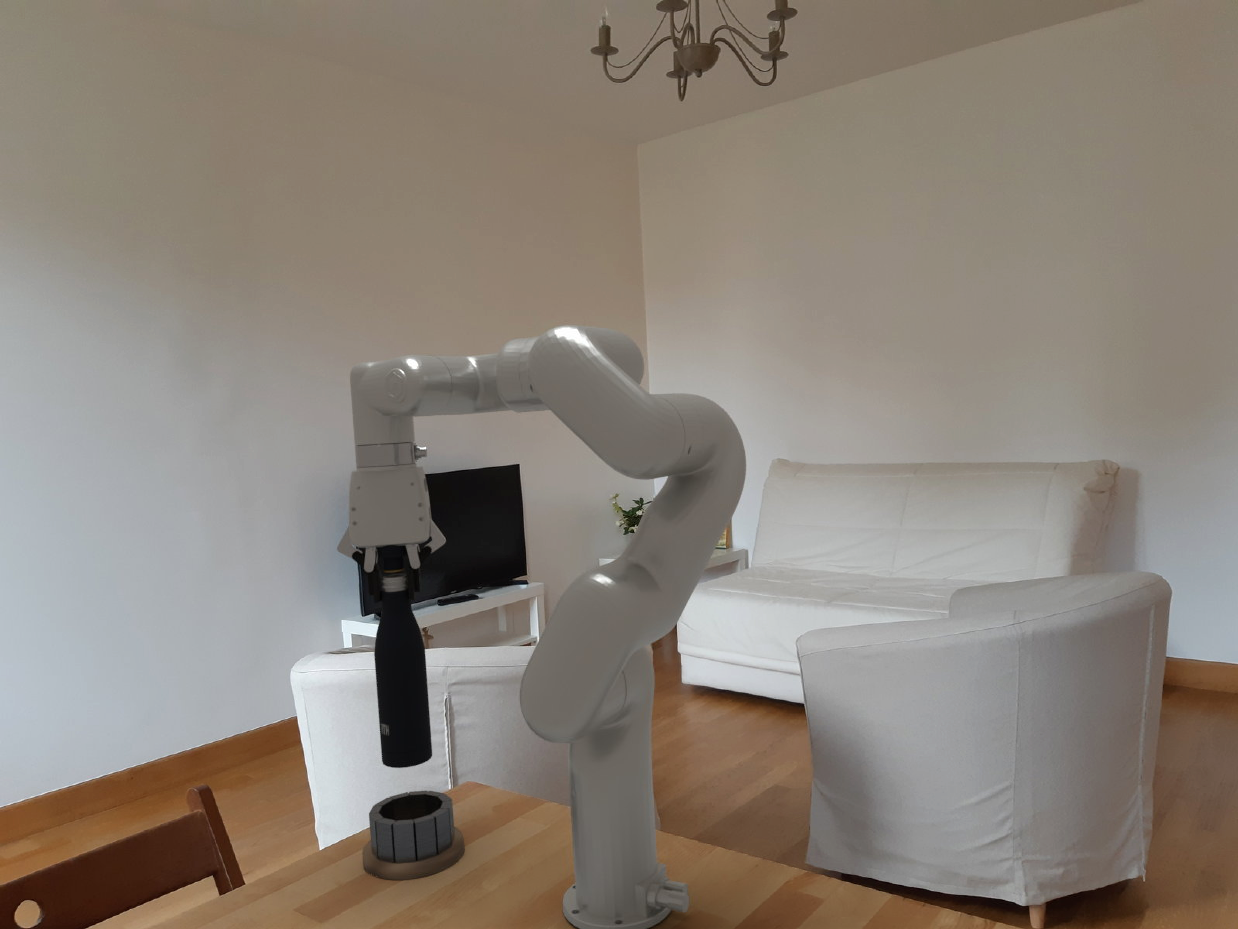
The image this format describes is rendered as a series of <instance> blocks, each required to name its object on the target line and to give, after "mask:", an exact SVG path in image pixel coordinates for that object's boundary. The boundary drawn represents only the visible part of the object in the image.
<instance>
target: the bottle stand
mask: <svg viewBox="0 0 1238 929" xmlns="http://www.w3.org/2000/svg"><path fill="white" fill-rule="evenodd" d="M453 805H454V804H453V799H452V798H451V797H450V796H449V795H447V794H446V793H444V792H441V791H440V792H439V791H433V790H418V791H417V790H415V791H414V790H413V791H409V792H408V791H406V792H401V793H398V794H395V795H391V796H388V797H386V798H384V799H382V800H381V801H379V802H376V803H375V804H374V805H373V806H372V808H371V809H370V811H369V812H368V819H369V834H370V840H369V841H367V843H365V845H364V847H363V849H362V853H361V854H362V866H363V865H364V866H363V869H364V868H365V869H366V870H365V869H364V870H365V871H366V873H367V872H368V873H367V874H369V873H370V874H372V875H374V876H377V877H376V878H378V877H379V878H378V879H381V878H382V880H388V881H389V880H390V881H407V880H416V879H420V878H424V877H429V876H432V875H435V874H438V873H440V872H442V871H444V870H447V869H449V868H450V867H452V866H453V865H455V864H456V863H458V861H459V860H460V859H461V858H462V857H463V855H464V853H465V836H464V833H463V831H461V830H460V828H458V827H455V819H454V807H453ZM370 874H369V875H370ZM372 875H371V876H372ZM374 876H373V877H374Z"/></svg>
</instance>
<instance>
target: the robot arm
mask: <svg viewBox="0 0 1238 929" xmlns="http://www.w3.org/2000/svg"><path fill="white" fill-rule="evenodd" d="M349 373H350V374H349V384H350V385H349V386H350V396H351V411H352V425H353V439H354V440H353V441H354V453H355V454H354V455H355V469H356V470H352V471H351V473H350V481H349V489H348V490H349V491H348V492H349V493H348V494H349V495H348V527H347V529H346V530H345V532H344V534H343V535H342V538H340V541H339V543H338V545H337V548H336V550H337V552H338V553H340V554H342V555H344V556H346V557H348V558H350V559H352V560H353V561H355V562H356V563H357V565H359V566H361V567H362V568H363V569H364V571H365V572H366V573H367V583H368V585H367V586H368V595H369V596H370V597H372V596H373V602H374V604H377V603H380V602H381V591H382V590H383V588H382V585H383V583H382V582H381V581H382V580H383V578H382V577H383V576H382V569H380V567H379V564H378V556H377V554H378V553H377V547H383V546H386V545H398V546H404V545H406V548H407V552H408V555H407V556H408V559H409V564H408V568H407V570H406V577H407V579H408V580H407V583H408V585H407V588H408V593H409V599H411V601H413V600H416V598H417V595H418V593H421V592H422V580H421V565H422V564H424V562H425V561H426V560H427V559H428V557H429V556H430V555H431V554H432V553H434V552H435V551H437V550H438V549H440V548H441V547H442V546H444V545H445V544H446V542H447V540H446V537H445V536H444V534H443V533H442V531H441V530H440V529H439V528H438V526H437V525H436V523H435V522H434V521H433V519H432V512H431V503H430V501H431V500H430V495H429V494H430V493H429V488H428V483H427V478H426V475H425V471H424V466H421V465H420V466H417V463H418V460H419V459H420V460H421V459H422V458H427V457H428V449H427V448H428V447H427V446H419V445H418V444H416V443H417V442H415V438H416V437H415V424H414V423H415V422H414V417H432V416H433V417H434V416H460V415H461V416H463V415H472V414H483V413H495V412H496V413H497V412H507V411H508V412H509V411H513V412H515V413H516V414H518V413H530V412H532V413H534V412H541V411H542V412H544V411H551V413H553V415H555V417H556V418H558V420H560V421H561V422H562V424H563V425H564V426H566V427H567V428H568V429H569V430H570V431H571V432H572V433H573V434H574V435H575V436H577V438H578V439H580V441H582V442H583V444H585V446H587V447H588V448H589V449H590V450H591V451H592V452H593V453H594V454H595V455H596V456H597V457H598V458H599V459H601V460H602V461H603V463H604V464H606V465H607V466H609V467H610V468H611V469H613V470H614V471H616V472H617V473H619V474H621V475H623V476H625V477H628V478H631V479H634V480H644V481H647V480H656V479H660V478H665V477H667V478H666V481H665V482H664V484H663V486H662V488H661V489H660V490H659V492H658V493H657V494H656V495H655V496H654V498H653V499H652V501H650V503H649V505H648V506H647V507H646V510H645V511H644V513H643V514H642V516H641V518H640V521H639V523H638V525H637V527H636V530H635V532H634V533H633V535H632V537H631V538H630V541H629V542H628V544H627V545H626V547H625V549H624V550H623V552H622V553H621V554H620V556H618V557H617V558H616V559H614V560H612V561H610V562H609V563H608V562H607V563H605V564H602V565H599V566H596V567H594V568H591V569H589V570H587V571H585V572H582V573H581V574H580V575H579V576H577V577H576V578H575V579H573V581H572V582H571V583H570V584H569V585H568V586H567V587H566V588H565V590H564V591H563V592H562V594H561V595H560V597H559V599H558V601H557V602H556V604H555V607H554V609H553V611H552V613H551V614H550V617H549V619H548V621H547V622H546V624H545V627H544V629H543V631H542V633H541V635H540V637H539V639H538V641H537V643H536V646H535V647H534V650H533V651H532V654H531V656H530V658H529V661H528V662H527V664H526V667H525V669H524V671H523V674H522V678H521V682H520V685H519V686H520V688H519V705H520V710H521V714H522V717H523V719H524V721H525V723H526V725H527V726H528V727H529V729H530V730H531V731H532V733H533V734H535V735H536V736H537V737H539V738H540V739H542V740H543V741H547V742H549V743H553V744H568V745H567V746H568V747H567V768H568V771H567V772H568V787H569V788H568V789H569V803H570V804H569V806H570V816H571V818H570V819H571V820H570V821H571V834H572V835H571V836H572V837H571V838H572V850H573V851H572V852H573V867H574V868H573V869H574V883H573V884H572V885H570V886H569V887H568V889H567V890H566V891H565V893H564V894H563V898H562V912H563V914H564V917H565V918H566V920H567V921H568V922H569V923H570V924H572V925H573V926H574V927H576V928H578V929H649V928H652V927H654V926H655V925H658V924H659V923H661V921H663V920H664V919H665V918H666V917H667V916H668V915H669V914H670V913H671V911H676V912H681V913H686V912H687V911H688V909H689V907H690V906H689V905H690V896H689V894H688V890H689V888H688V887H689V886H688V883H686V882H681V881H673V880H670V879H669V877H667V868H666V867H667V866H666V865H667V864H665V863H661V862H658V854H657V853H658V851H657V838H656V837H657V835H656V817H655V801H654V800H655V799H654V797H655V796H654V784H653V783H654V782H653V781H654V780H653V760H652V759H653V758H652V757H653V756H652V715H653V707H654V696H655V686H656V685H655V682H656V681H655V669H654V668H655V667H654V664H653V661H652V657H651V655H650V653H649V651H648V649H647V648H646V647H647V646H649V645H651V644H654V643H656V642H657V641H658V640H660V639H662V638H664V637H665V636H666V635H668V634H669V633H670V632H672V631H673V629H674V628H675V626H676V625H677V623H678V622H679V620H680V618H681V617H682V615H683V613H684V611H685V608H686V607H687V604H688V602H689V601H690V599H691V597H692V594H693V593H694V591H695V589H696V587H697V585H698V584H699V582H700V579H701V578H702V575H703V574H704V572H705V570H706V568H707V566H708V564H709V562H710V560H711V558H712V556H713V554H714V551H715V550H716V548H717V547H718V544H719V542H720V540H721V538H722V537H723V535H724V533H725V531H726V529H727V528H728V526H729V524H730V521H731V520H732V518H733V516H734V514H735V512H736V510H737V507H738V505H739V502H740V500H741V497H742V494H743V491H744V487H745V481H746V475H747V474H746V473H747V458H746V450H745V445H744V442H743V438H742V436H741V433H740V430H739V429H738V427H737V425H736V423H735V421H734V420H733V418H732V417H731V416H730V415H729V413H728V412H727V411H726V410H725V409H724V408H723V407H721V405H720V404H718V403H716V402H715V401H713V400H711V399H710V398H708V397H705V396H701V395H698V394H693V393H684V392H683V393H674V392H673V393H653V394H652V393H649V392H648V391H647V390H646V389H644V388H643V387H642V386H641V383H642V381H643V377H644V373H645V362H644V356H643V354H642V352H641V349H640V347H639V346H638V344H637V343H636V342H635V341H634V340H633V338H631V337H630V336H628V335H627V334H626V333H623V332H622V331H619V330H617V329H612V328H607V327H599V326H598V327H597V326H590V325H589V326H588V325H587V326H586V325H577V324H564V325H559V326H555V327H553V328H550V329H549V330H546V331H545V332H544V333H542V334H541V335H539V336H532V337H531V336H530V337H523V338H515V339H511V340H508V341H507V342H506V343H505V344H503V346H502V347H501V348H500V349H499V351H498V352H496V353H495V352H494V353H487V354H486V353H485V354H479V355H478V354H477V355H467V356H465V355H464V356H455V355H454V356H451V355H428V354H427V355H424V354H423V355H422V354H406V355H401V356H397V357H394V358H391V359H388V360H378V361H377V360H375V361H366V362H364V361H363V362H360V363H356V364H355V365H354V366H353V367H352V368H351V369H350V372H349ZM430 537H431V541H429V543H427V544H426V545H424V546H423V547H422V549H421V550H420V546H419V545H421V544H423V543H425V542H428V540H429V539H430ZM358 548H359V549H358ZM361 549H365V552H364V551H362V550H361Z"/></svg>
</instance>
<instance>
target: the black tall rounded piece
mask: <svg viewBox="0 0 1238 929" xmlns="http://www.w3.org/2000/svg"><path fill="white" fill-rule="evenodd" d="M377 553H378V554H377V556H378V557H377V559H378V558H379V559H382V560H383V573H384V574H387V575H383V576H382V581H381V582H382V589H383V590H382V591H381V601H380V602H381V603H380V605H381V615H380V619H379V622H378V626H377V630H376V635H375V640H374V641H375V642H374V652H373V656H374V668H375V681H376V682H375V683H376V695H377V710H378V711H377V712H378V724H379V737H380V749H381V750H380V752H381V753H380V754H381V762H382V764H383V765H384V766H386V767H388V768H395V769H403V768H411V767H416V766H419V765H422V764H424V763H426V762H428V761H430V760H431V759H432V758H433V744H432V743H433V742H432V732H431V718H430V715H431V714H430V703H429V688H428V676H427V675H428V674H427V672H428V671H427V659H426V648H425V644H424V643H425V642H424V639H423V636H422V632H421V629H420V626H419V624H418V620H417V619H416V616H415V614H414V611H413V609H412V600H411V599H409V593H408V579H407V573H402V572H404V571H405V566H404V564H405V563H404V557H406V556H408V552H407V548H406V545H404V546H398V545H386V546H383V547H377Z"/></svg>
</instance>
